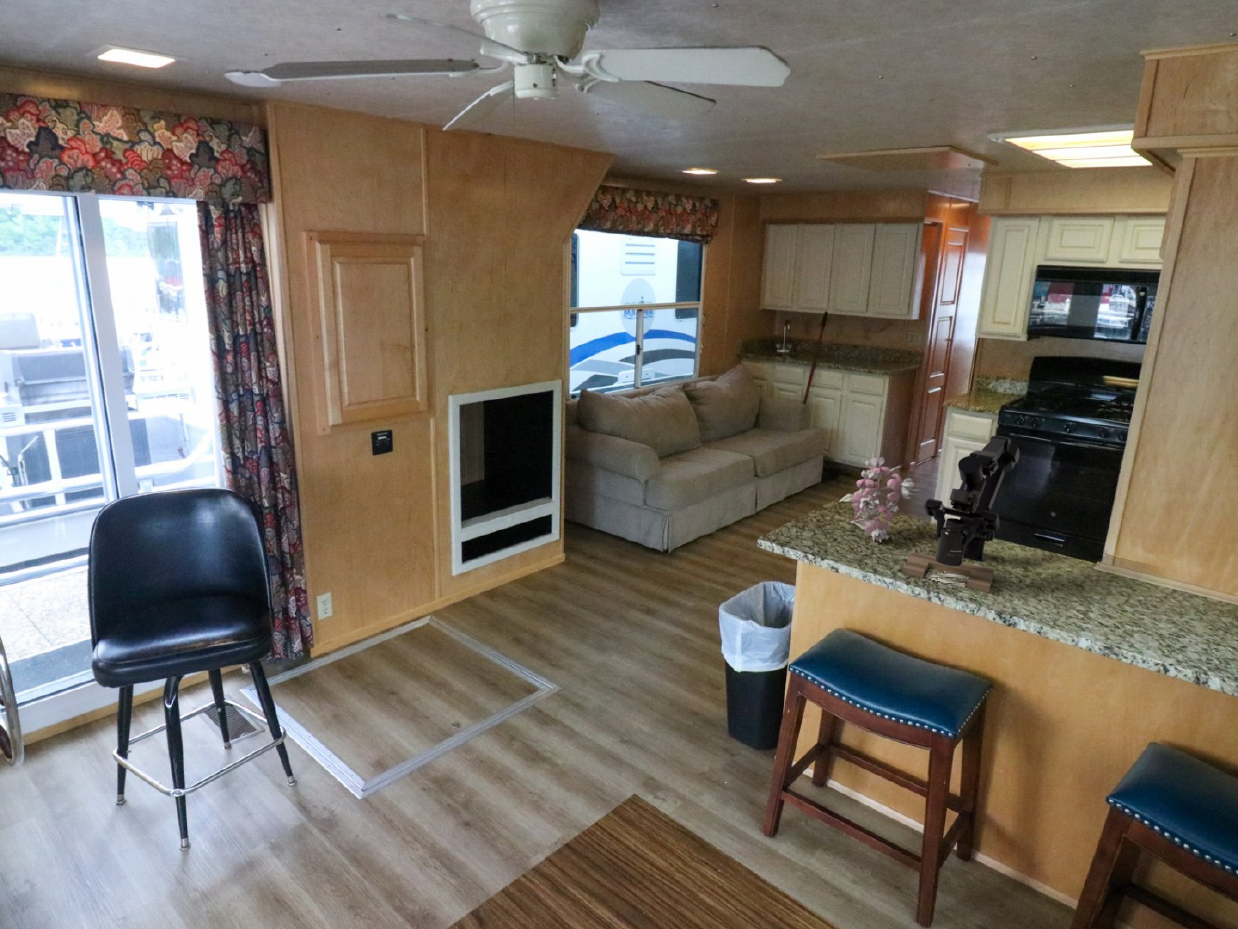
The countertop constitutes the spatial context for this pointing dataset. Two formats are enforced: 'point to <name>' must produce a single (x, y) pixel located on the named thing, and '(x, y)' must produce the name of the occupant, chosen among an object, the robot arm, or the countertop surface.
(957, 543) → the supplement bottle
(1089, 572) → the countertop surface
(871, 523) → the flower
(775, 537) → the countertop surface
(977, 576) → the notched shelf board
